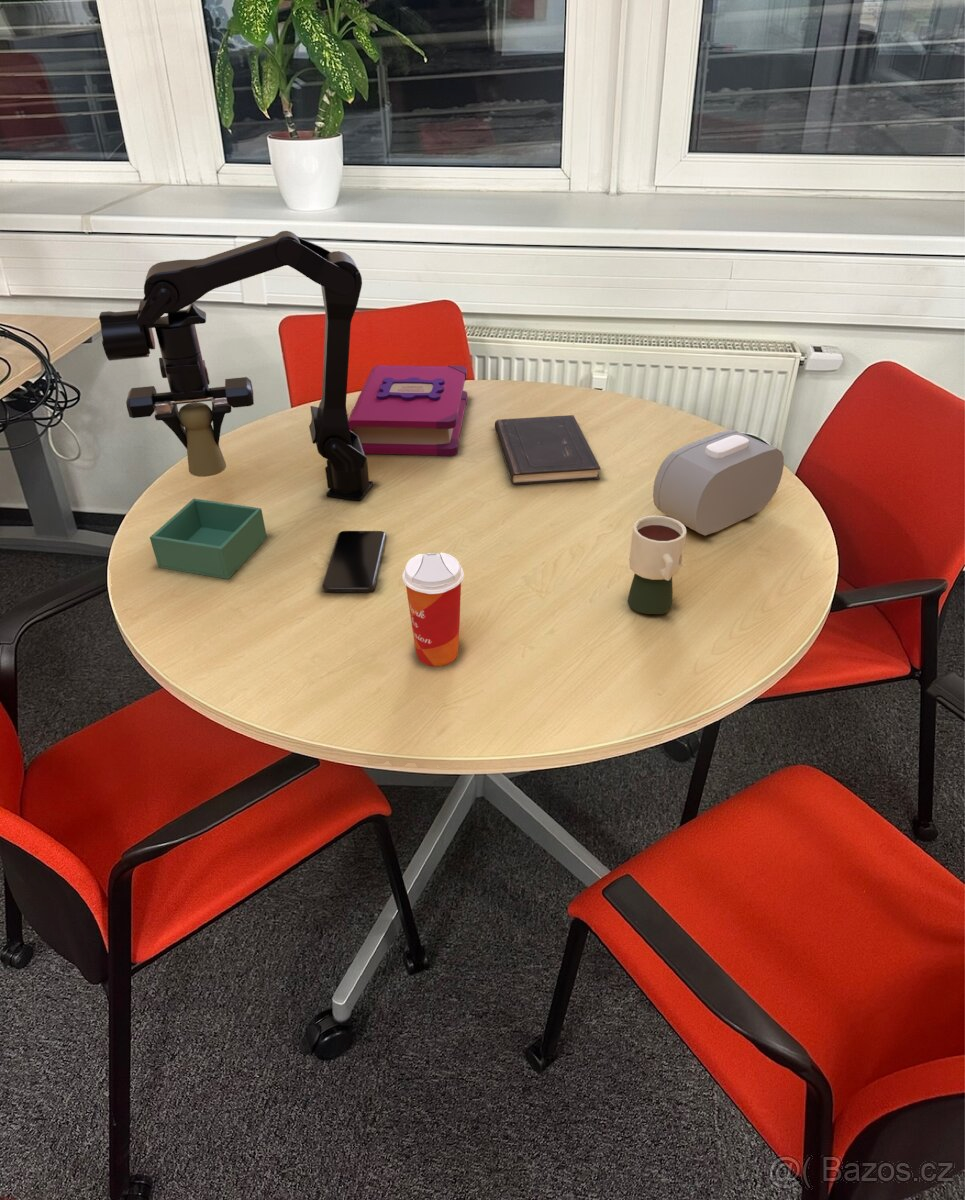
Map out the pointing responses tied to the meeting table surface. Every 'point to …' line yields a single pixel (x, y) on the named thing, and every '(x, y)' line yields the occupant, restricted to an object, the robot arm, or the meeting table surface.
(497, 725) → the meeting table surface
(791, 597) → the meeting table surface
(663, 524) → the character mug
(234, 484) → the meeting table surface
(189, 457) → the brown pawn
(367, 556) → the smartphone
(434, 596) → the paper cup
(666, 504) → the alarm clock
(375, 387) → the book
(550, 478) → the hardcover book
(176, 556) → the tote
